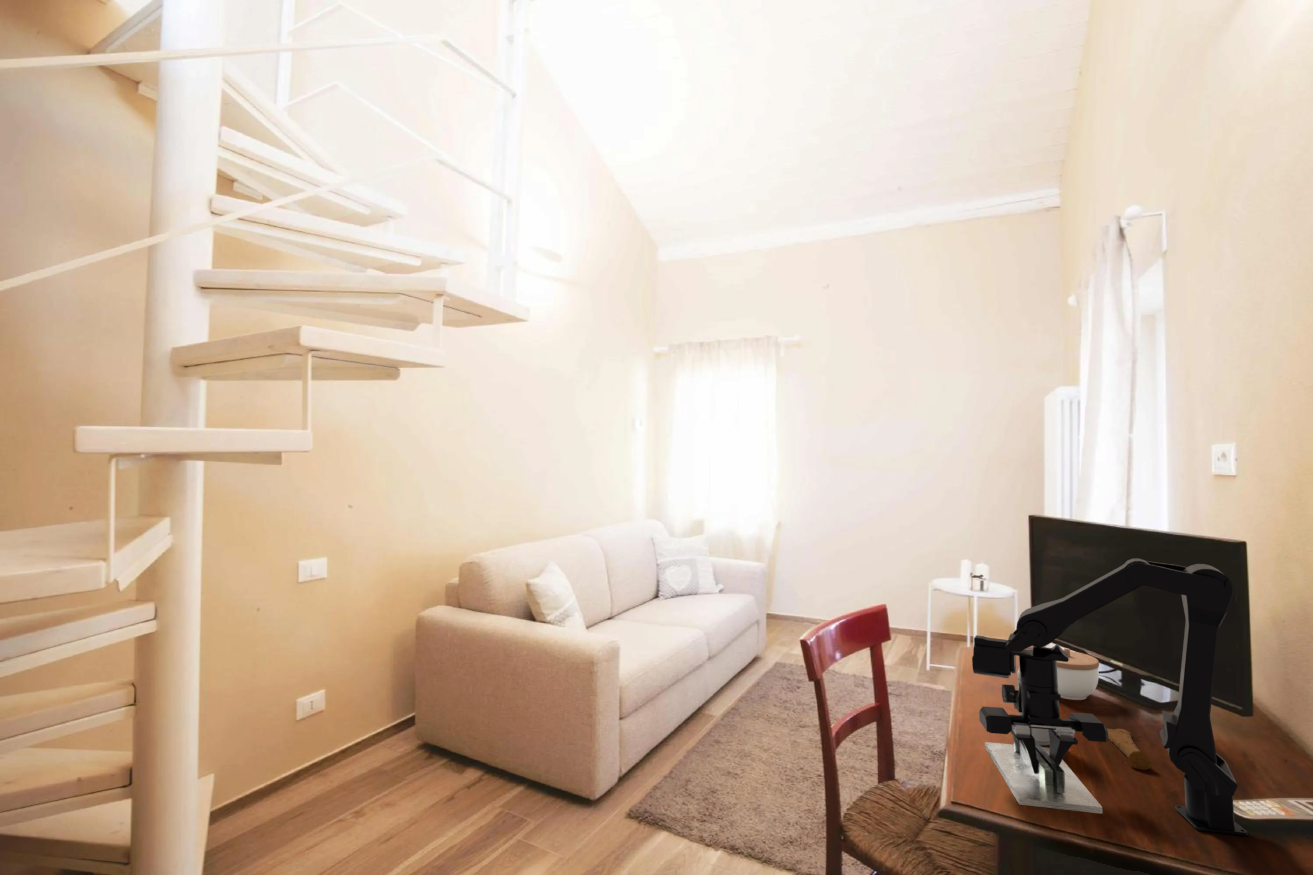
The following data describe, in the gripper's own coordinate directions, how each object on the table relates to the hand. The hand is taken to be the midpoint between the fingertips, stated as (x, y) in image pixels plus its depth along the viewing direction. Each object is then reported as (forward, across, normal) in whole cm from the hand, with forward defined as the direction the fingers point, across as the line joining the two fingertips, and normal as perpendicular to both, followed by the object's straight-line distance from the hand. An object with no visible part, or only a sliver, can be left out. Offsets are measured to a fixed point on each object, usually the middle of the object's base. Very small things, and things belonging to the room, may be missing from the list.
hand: (1043, 773), depth 110 cm
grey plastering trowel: (+2, 0, -3) cm, 3 cm away
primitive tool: (+3, -20, -20) cm, 28 cm away
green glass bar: (+1, -1, -2) cm, 2 cm away
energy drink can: (+2, -5, -20) cm, 20 cm away
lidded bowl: (+2, -21, -50) cm, 54 cm away
